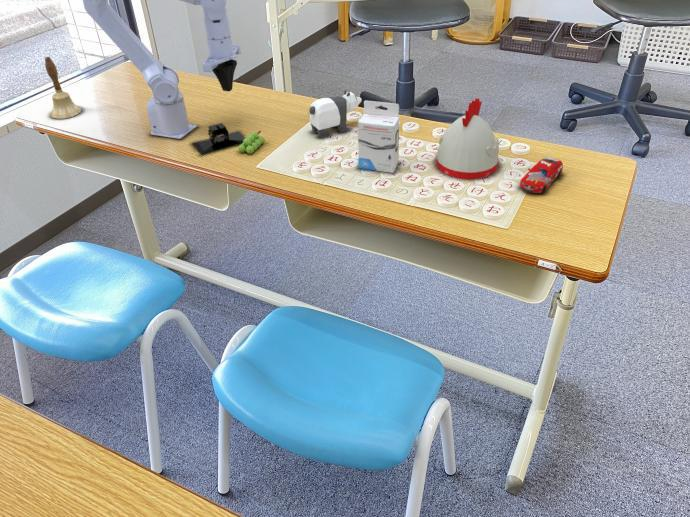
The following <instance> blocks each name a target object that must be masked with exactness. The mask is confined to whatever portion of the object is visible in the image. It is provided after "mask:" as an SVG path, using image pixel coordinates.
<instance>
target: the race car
mask: <svg viewBox="0 0 690 517" xmlns="http://www.w3.org/2000/svg"><path fill="white" fill-rule="evenodd" d="M563 164H564V163H563V161H562V160H560V159H558V158H554V157H551V156H548V157H547V156H546V157H543V158H542V159H540V160H539V161H538V162H536V163H535V164H534V165H533V166H532V167H531V168H527V171H528V172H527V173H526V174H525V175H524V176H523V177H522V178H521V179H520V182H519V187H520V189H522V190H524V191H526V192H528V193H533V194H544V193H545V192H546V190H547V189H548V188H549V187H550V186H551V185H552V184H553V183H554V182H555V181H556V180H557V179H560V176H561V175H562V173H563V168H564V165H563Z"/></svg>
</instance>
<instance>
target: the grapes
mask: <svg viewBox="0 0 690 517" xmlns="http://www.w3.org/2000/svg"><path fill="white" fill-rule="evenodd" d="M260 133H262V131H261V130H258V131H252V132H250V134H248V135H247V136H246V137H245V139H244V140H243V143H242V144H240V145H238V147H237V150H238V151H239V152H240V153H241V154H242V153H247V154H249V155H251V154H253V153H254V152H255V151H257V149H258V148H259V147H261V146H262V144H264V143H265V138H264V136H262V135H260Z"/></svg>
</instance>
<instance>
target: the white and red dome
mask: <svg viewBox="0 0 690 517" xmlns="http://www.w3.org/2000/svg"><path fill="white" fill-rule="evenodd" d="M482 103H483V102H482V101H481V99H480V98H475V99H474V100H471V102H469V103H468V108H467V110H465V112H464V114H465V115H462V116H460V117H458V118H457V119H455V120H454V121H453V122H452V123H451V124H450V125H449V126H448V127H446V129H445V131H444V133H443V134H441V135H440V137H439V142H438V144H439V145H438V147H437V151H436V161H435V162H436V164H435V165H436V167H437V169H438V170H439V171H440V172H441V173H443V174H444V175H447V176H449V177H452V178H456V179H462V180H476V179H477V180H478V179H482V178H487V177H489V176H491V175H492V174H494V173H495V172H496V171H497V169H498V166H499V150H500V149H499V148H500V143H499V142H500V139H499V137H496V136H495V134H494V132H493V129H492V128H491V126H490V125H489V124H488V122H487V121H486V120H485V119H484V118H483V117H481V116H479V114H480V112H481V107H482Z"/></svg>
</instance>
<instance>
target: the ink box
mask: <svg viewBox="0 0 690 517" xmlns="http://www.w3.org/2000/svg"><path fill="white" fill-rule="evenodd" d="M377 107H378V108H377ZM379 107H382V108H386V109H380V108H379ZM399 114H400V104H399V103H393V102H385V101H374V100H364V101H363V114H362V115H361V117H360V118H359V119H358V121H357V142H358V143H357V148H358V152H357V154H358V155H357V156H358V169H363V170H370V171H375V172H376V171H377V172H385V173H391V174H393V173H395V172H396V171H395V170H396V169H397V166H398V164H399V153H400V152H399V148H400V120H401V119H400V117H399V116H400V115H399Z"/></svg>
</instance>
